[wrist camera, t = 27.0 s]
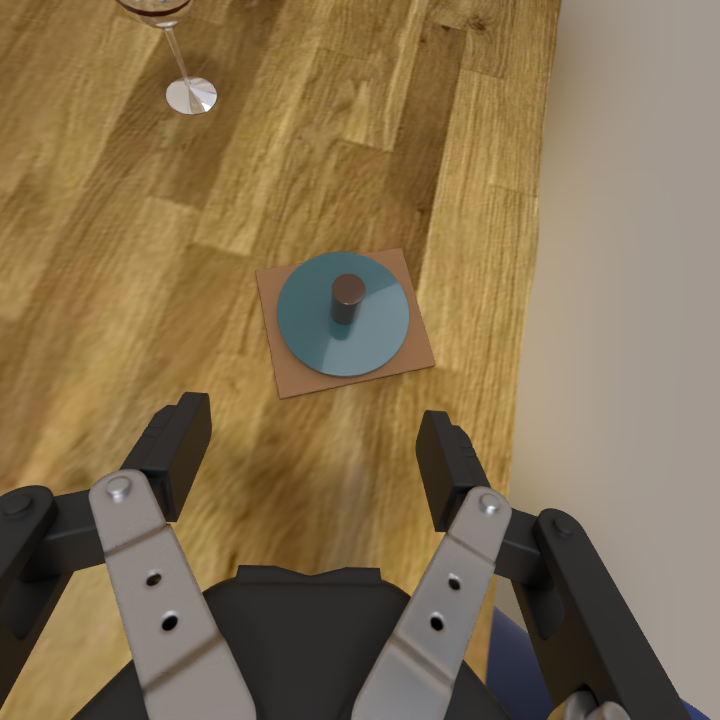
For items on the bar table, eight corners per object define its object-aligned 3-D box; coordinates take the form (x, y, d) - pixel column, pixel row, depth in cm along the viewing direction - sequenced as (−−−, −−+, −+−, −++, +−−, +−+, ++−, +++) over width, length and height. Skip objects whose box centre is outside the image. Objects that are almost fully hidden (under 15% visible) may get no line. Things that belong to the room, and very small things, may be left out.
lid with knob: (388, 250, 36) (402, 212, 30) (421, 364, 33) (442, 346, 28) (267, 268, 34) (258, 232, 28) (291, 392, 31) (286, 378, 26)
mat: (400, 250, 36) (401, 247, 36) (434, 366, 34) (435, 365, 33) (256, 273, 34) (255, 270, 34) (280, 399, 31) (279, 398, 31)
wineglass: (239, 101, 39) (206, -50, 27) (183, 132, 37) (122, -16, 25) (199, 60, 39) (150, -105, 28) (142, 88, 38) (66, -75, 26)
